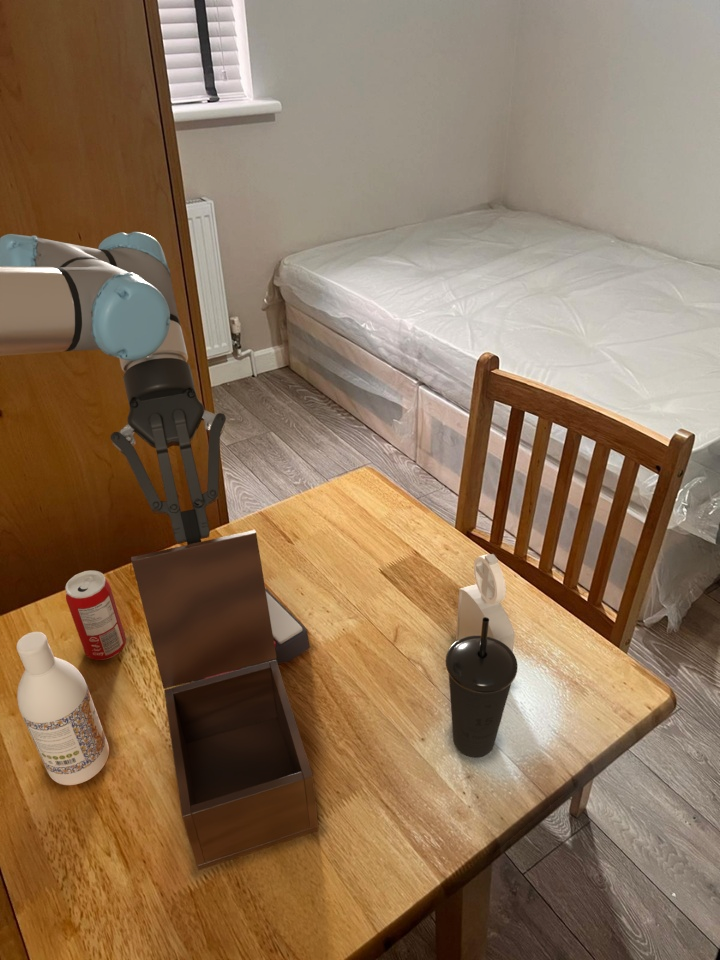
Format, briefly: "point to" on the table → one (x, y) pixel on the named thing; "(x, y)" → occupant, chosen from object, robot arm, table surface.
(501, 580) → the gravestone
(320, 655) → the table surface
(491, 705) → the drinking cup
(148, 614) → the chest lid
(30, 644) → the bath foam
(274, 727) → the chest
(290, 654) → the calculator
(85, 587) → the soda can
